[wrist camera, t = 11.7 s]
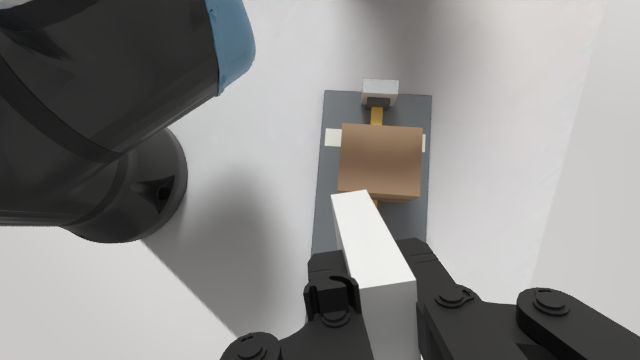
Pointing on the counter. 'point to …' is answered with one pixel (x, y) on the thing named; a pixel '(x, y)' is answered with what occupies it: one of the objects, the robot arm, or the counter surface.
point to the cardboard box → (381, 161)
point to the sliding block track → (340, 107)
